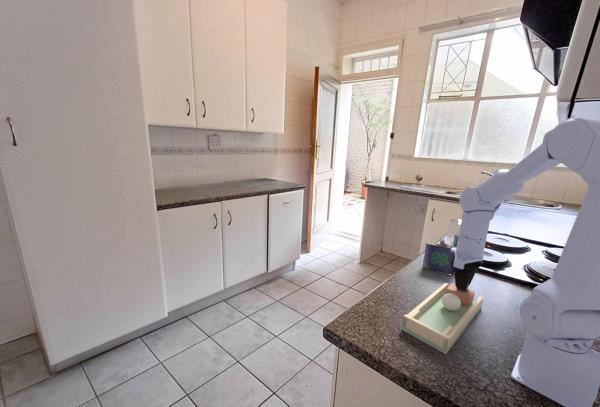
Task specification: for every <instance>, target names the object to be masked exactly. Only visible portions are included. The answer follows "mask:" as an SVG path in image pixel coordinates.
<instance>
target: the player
mask: <svg viewBox="0 0 600 407" xmlns="http://www.w3.org/2000/svg"><path fill="white" fill-rule="evenodd" d="M468 285H469V283H468ZM469 286H470V285H469ZM469 286H467V288H466V289H465V290H462V289H459V288H457V287H456V286H455V283H452V284H450V286H449V285H448V288H447V292H446V294H448V293H452V294H455V295H456V296H458V297H459V299H460V301H461V304H463V305H466V306H469V305H470V304H471V302H472V301H474V296H475V291H473V290H471V289H469Z"/></svg>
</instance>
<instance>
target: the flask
mask: <svg viewBox="0 0 600 407" xmlns="http://www.w3.org/2000/svg"><path fill="white" fill-rule="evenodd" d="M445 240H446V239H439V243H437V242H429V241H427V242H426V243H425V247H424V248H425V249H424V254H423V260H422V266H421V267H422V268H423V269H424V270H426V269H427V270H426V271H431V270H433V271H432V272H434V271H438V272H437V273H440V272H442V273H441V274H444V273H446V274H445V275H448V274H451V275H450V276H453V275H454V270H453V267H452V265H451V260H452V259H453V258H454V259H455V253H454V252H451V248H456V247H453V246H452V245H451V246H448V245H447V243H446V242H445Z"/></svg>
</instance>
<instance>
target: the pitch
mask: <svg viewBox="0 0 600 407" xmlns="http://www.w3.org/2000/svg"><path fill="white" fill-rule="evenodd" d="M448 287H449V283H447V282H444V283H443V284H442V285H441V286H439V287H438V288H437V289H436V290H434V291H433V293H431V294H430V295H429V296H427V297H426V298H425V299H423V301H421V302H420V303H419V304H418V305H417V306H415V308H413V309H412V310H411V311H410V312H408V314H406V313H405V314H404V315H403V320H402V327H401V330H402V331H404V332H405V333H407V334H409V335H411V336H412V337H414V338H416V339H418V340H419V341H421V342H422V343H425V344H426V345H428V346H430V347H432V348H433V349H434V350H435V349H436V350H437V351H439V352H441V353H442V354H444V355H447V354H448V352H449V351H450V350H451V348H453V346H454V344H455V343H456V342H457V341H458V339H459V338H460V336H461V335H462V334H463V333H464V332H465V330H466V329H467V327H468V326H469V325H470V323H471V322H472V321H473V320H474V318H475V317H476V315H477V314H478V313H479V312H480V311H481V309H482V306H483V301H484V296H481V295H479V296H478V297H477V299H475V300H473V301H472V302H471V304H470V305H469V306H466V305H463V304H461V306H460V308H459V309H458V310H456V311H450V310H448V309H446V308H445V307H444V306H443V304H442V298H443V296H444V295H445V294H446V292H447V288H448Z"/></svg>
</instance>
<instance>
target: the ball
mask: <svg viewBox="0 0 600 407" xmlns="http://www.w3.org/2000/svg"><path fill="white" fill-rule="evenodd" d="M442 304H443V306H444V307H445V308H446V309H448V310H450V311H456V310H458V309H459V308H460V306H461V301H460V299H459V297H458V296H456V295H455V294H452V293H448V294H445V295H444V296H443V298H442Z"/></svg>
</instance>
